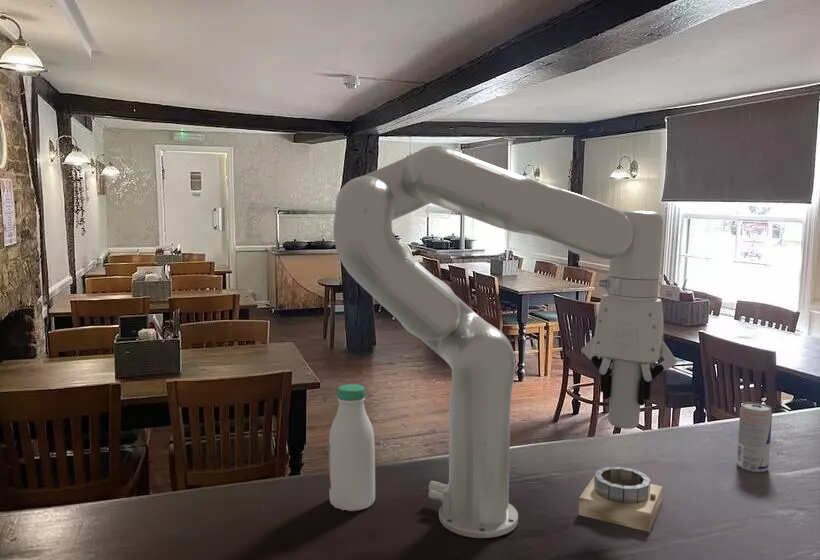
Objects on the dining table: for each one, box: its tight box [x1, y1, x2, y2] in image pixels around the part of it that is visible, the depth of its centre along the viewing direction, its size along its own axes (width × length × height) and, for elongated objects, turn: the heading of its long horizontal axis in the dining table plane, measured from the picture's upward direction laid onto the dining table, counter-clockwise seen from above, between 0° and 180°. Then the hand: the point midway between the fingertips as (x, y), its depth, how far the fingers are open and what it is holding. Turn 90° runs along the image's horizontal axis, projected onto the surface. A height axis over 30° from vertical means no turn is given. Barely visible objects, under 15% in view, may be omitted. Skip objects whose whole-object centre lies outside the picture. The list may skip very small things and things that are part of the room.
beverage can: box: [607, 359, 643, 430], centre depth 105 cm, size 5×5×12 cm
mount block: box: [578, 475, 663, 533], centre depth 107 cm, size 11×11×4 cm
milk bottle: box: [328, 383, 376, 512], centre depth 109 cm, size 8×8×20 cm
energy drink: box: [736, 401, 773, 473], centre depth 123 cm, size 5×5×12 cm
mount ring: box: [593, 466, 652, 504], centre depth 107 cm, size 8×8×2 cm
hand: (624, 399), depth 105 cm, fingers closed on beverage can, 4 cm apart
